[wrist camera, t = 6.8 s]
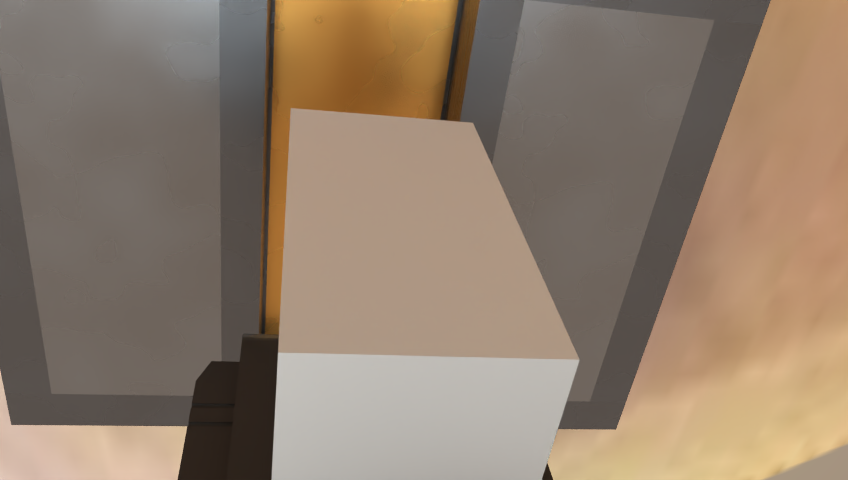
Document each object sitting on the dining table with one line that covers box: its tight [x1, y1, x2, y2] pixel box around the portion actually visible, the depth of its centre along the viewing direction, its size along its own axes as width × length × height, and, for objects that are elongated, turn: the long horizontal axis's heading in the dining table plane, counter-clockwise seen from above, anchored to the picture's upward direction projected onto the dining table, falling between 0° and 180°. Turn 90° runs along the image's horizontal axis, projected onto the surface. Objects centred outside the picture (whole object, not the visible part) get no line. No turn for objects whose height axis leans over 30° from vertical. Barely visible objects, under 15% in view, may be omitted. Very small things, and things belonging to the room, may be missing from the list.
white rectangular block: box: [271, 108, 579, 480], centre depth 13 cm, size 3×10×6 cm, turn 172°
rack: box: [0, 0, 771, 429], centre depth 21 cm, size 18×15×2 cm
